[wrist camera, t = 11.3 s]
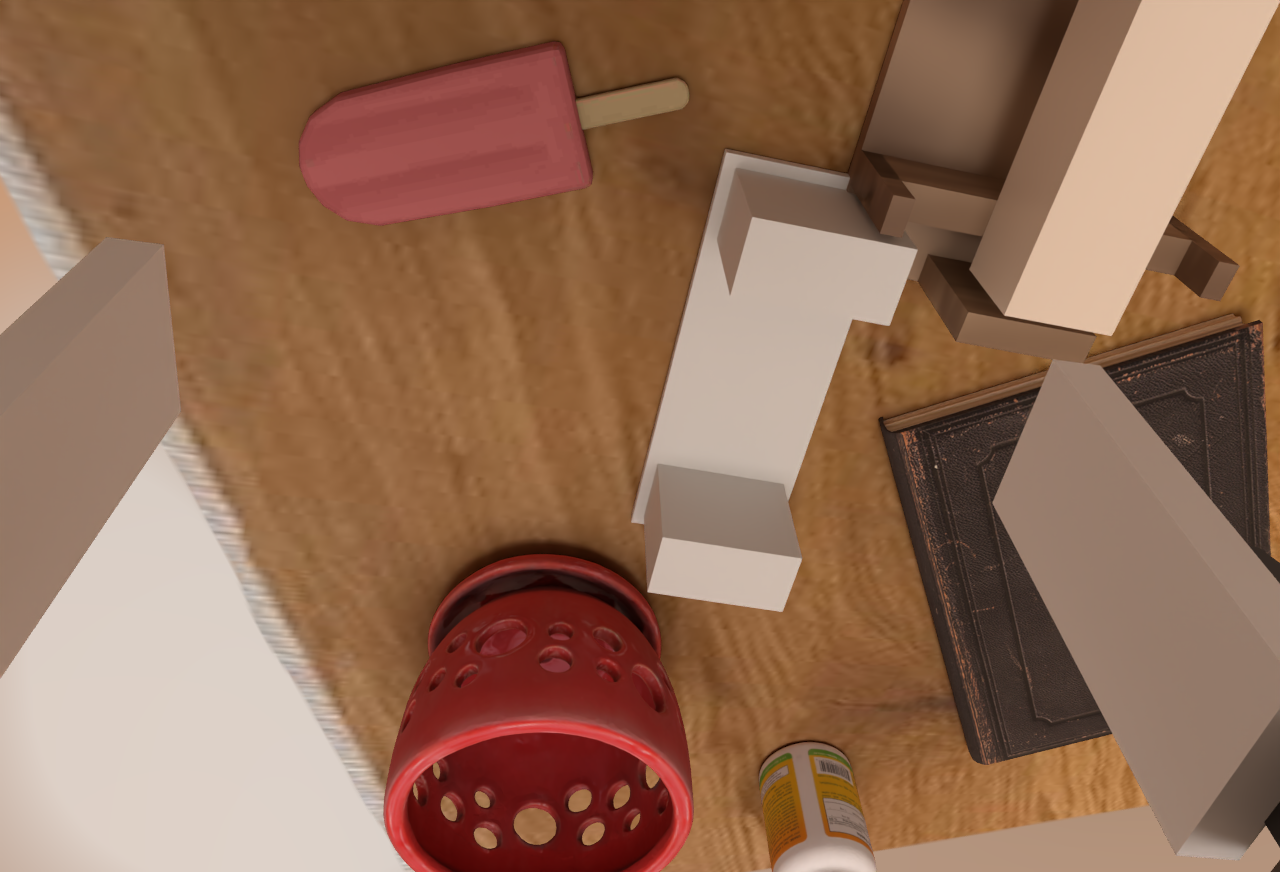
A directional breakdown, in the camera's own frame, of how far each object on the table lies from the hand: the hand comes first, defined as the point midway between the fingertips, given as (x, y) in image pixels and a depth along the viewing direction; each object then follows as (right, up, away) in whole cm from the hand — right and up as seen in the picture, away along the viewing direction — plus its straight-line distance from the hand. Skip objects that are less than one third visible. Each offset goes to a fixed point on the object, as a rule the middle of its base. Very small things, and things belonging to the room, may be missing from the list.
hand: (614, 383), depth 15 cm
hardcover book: (+22, -6, +36) cm, 43 cm away
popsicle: (-5, +11, +24) cm, 27 cm away
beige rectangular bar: (+16, +12, +19) cm, 28 cm away
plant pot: (-4, -11, +38) cm, 39 cm away
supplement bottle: (+10, -20, +44) cm, 49 cm away
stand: (+5, +2, +29) cm, 30 cm away
